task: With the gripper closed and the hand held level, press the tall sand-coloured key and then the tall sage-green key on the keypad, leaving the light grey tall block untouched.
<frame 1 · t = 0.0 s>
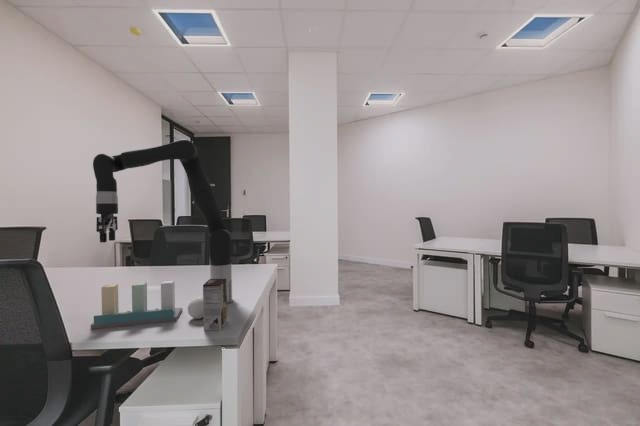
hand: (107, 241, 128), 29 cm above the table, tool pointing down, fingers open, 8 cm apart
key sage: (139, 299, 118), point 8 cm above the table, slide at 0.0 cm
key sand: (110, 301, 115), point 8 cm above the table, slide at 0.0 cm
coffee box: (215, 326, 110), on the table
ball: (199, 318, 118), on the table
light grey tall block: (168, 297, 120), point 8 cm above the table, slide at 0.0 cm
keypad base: (140, 319, 118), on the table
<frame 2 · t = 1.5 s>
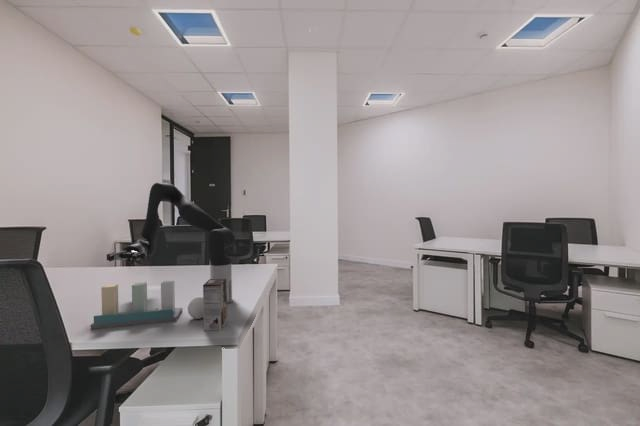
hand: (121, 258, 126), 22 cm above the table, tool horizontal, fingers open, 8 cm apart
nothing on the table moved.
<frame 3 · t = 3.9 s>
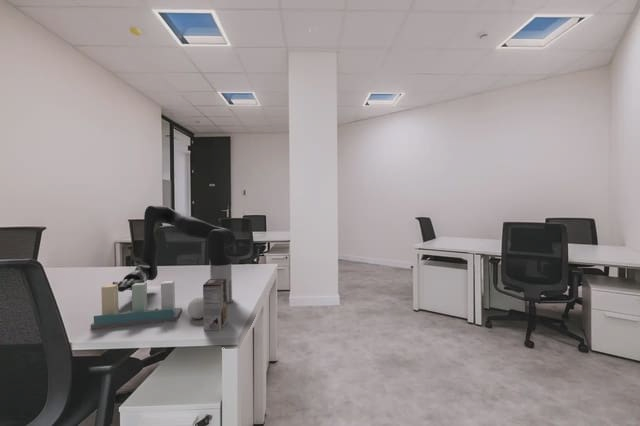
hand: (120, 289, 126), 10 cm above the table, tool horizontal, fingers closed
nothing on the table moved.
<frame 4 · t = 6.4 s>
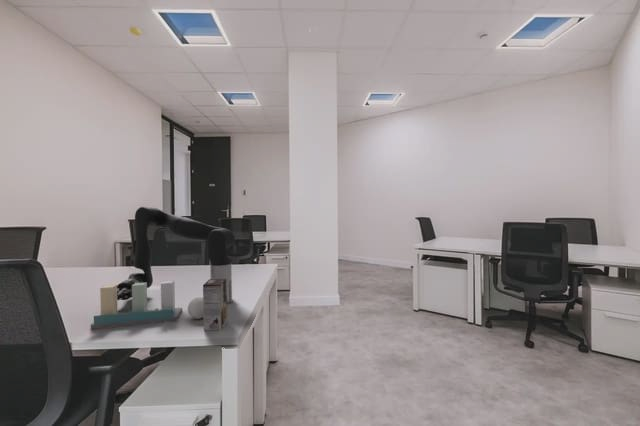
hand: (111, 300, 116), 8 cm above the table, tool horizontal, fingers closed
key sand: (109, 302, 114), point 8 cm above the table, slide at 0.9 cm, touching gripper
everything else where it was.
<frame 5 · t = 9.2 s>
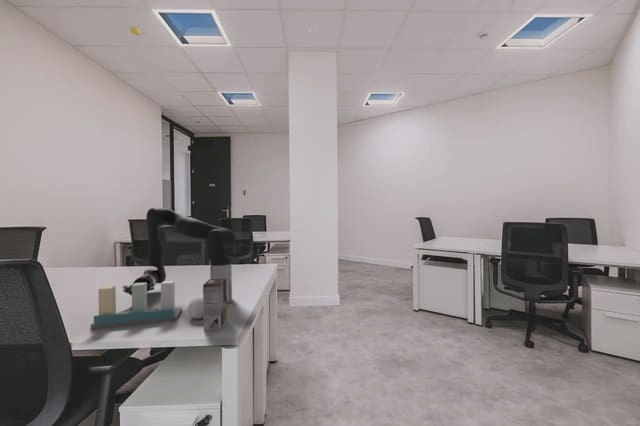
hand: (132, 292, 127), 8 cm above the table, tool horizontal, fingers closed
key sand: (107, 303, 113), point 8 cm above the table, slide at 2.4 cm
everything else where it was.
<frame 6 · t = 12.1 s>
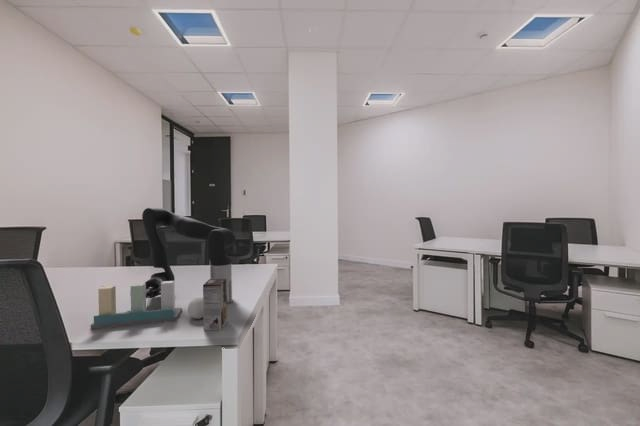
hand: (140, 298, 118), 8 cm above the table, tool horizontal, fingers closed
key sage: (138, 300, 116), point 8 cm above the table, slide at 1.3 cm, touching gripper
everything else where it was.
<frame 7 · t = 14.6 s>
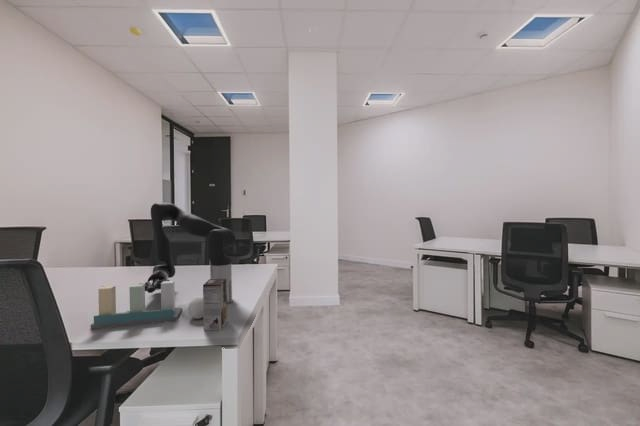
hand: (150, 290, 128), 8 cm above the table, tool horizontal, fingers closed
key sage: (137, 301, 115), point 8 cm above the table, slide at 2.5 cm
everything else where it was.
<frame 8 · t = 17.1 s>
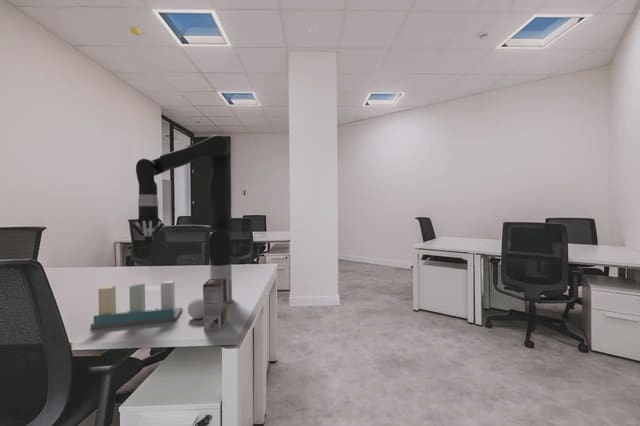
hand: (149, 244, 134), 27 cm above the table, tool pointing down, fingers closed
nothing on the table moved.
at the end: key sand slide at 2.4 cm; key sage slide at 2.5 cm; light grey tall block slide at 0.0 cm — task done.
